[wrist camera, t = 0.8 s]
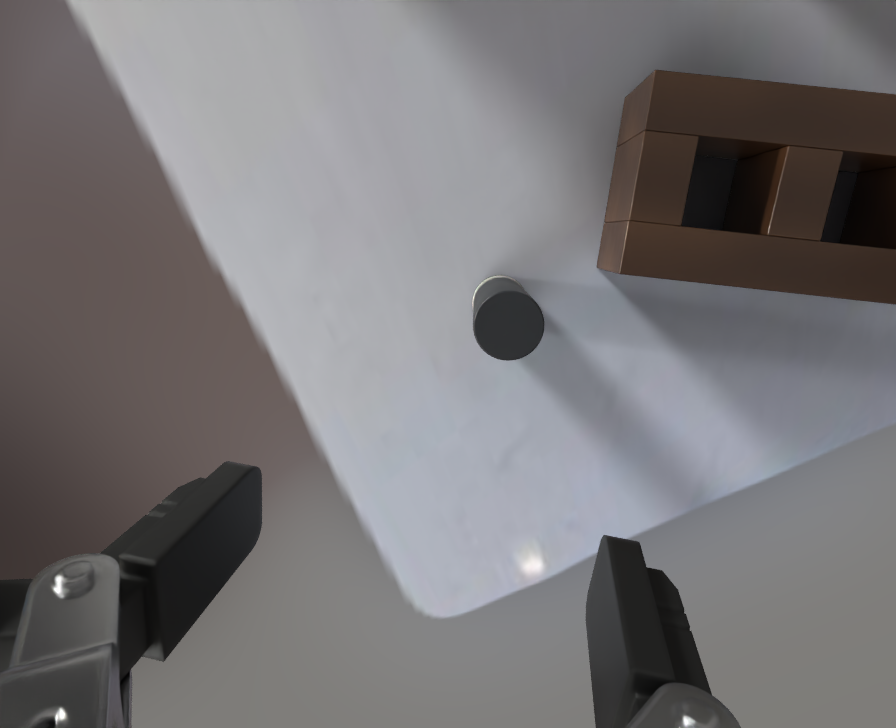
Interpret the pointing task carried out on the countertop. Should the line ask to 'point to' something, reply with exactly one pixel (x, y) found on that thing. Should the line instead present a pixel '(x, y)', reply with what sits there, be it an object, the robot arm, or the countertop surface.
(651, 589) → the robot arm
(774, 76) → the countertop surface
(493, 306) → the dark grey cylinder
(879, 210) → the holder
